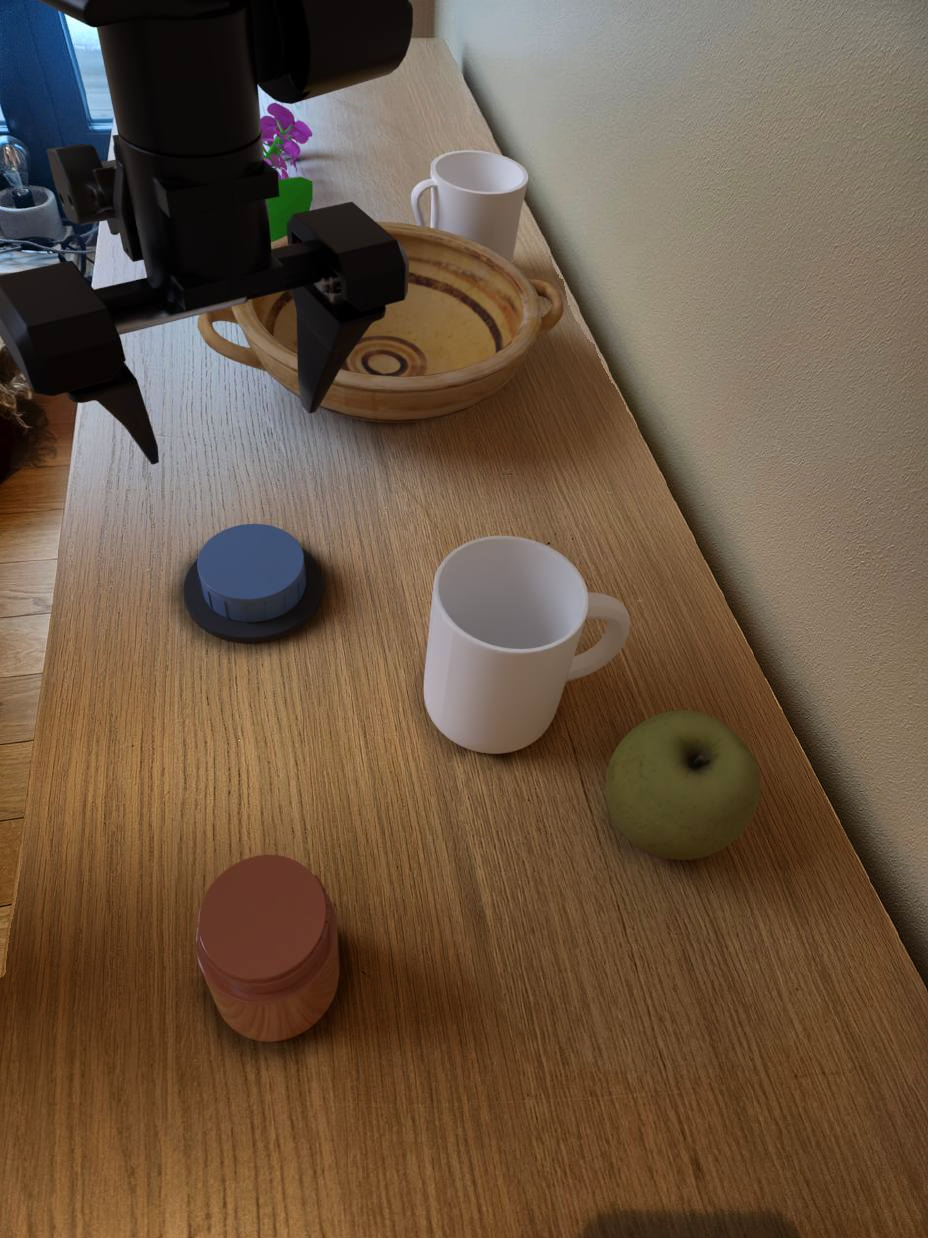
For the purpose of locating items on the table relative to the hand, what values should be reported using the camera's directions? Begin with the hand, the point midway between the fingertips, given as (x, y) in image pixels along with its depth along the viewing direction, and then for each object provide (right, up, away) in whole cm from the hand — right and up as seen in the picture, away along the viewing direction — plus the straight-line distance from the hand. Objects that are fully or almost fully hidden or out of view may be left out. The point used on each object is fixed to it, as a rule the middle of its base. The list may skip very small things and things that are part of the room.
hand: (233, 433), depth 47 cm
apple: (+24, -22, +2) cm, 32 cm away
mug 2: (+16, -15, +7) cm, 23 cm away
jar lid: (-1, -7, +8) cm, 10 cm away
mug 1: (+12, +23, +38) cm, 46 cm away
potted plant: (-9, +31, +42) cm, 52 cm away
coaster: (-1, -8, +10) cm, 13 cm away
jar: (+4, -28, -5) cm, 28 cm away
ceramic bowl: (+6, +10, +26) cm, 29 cm away
